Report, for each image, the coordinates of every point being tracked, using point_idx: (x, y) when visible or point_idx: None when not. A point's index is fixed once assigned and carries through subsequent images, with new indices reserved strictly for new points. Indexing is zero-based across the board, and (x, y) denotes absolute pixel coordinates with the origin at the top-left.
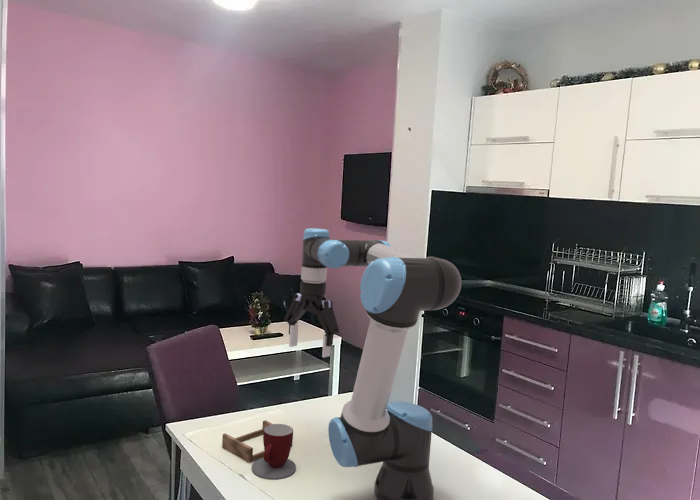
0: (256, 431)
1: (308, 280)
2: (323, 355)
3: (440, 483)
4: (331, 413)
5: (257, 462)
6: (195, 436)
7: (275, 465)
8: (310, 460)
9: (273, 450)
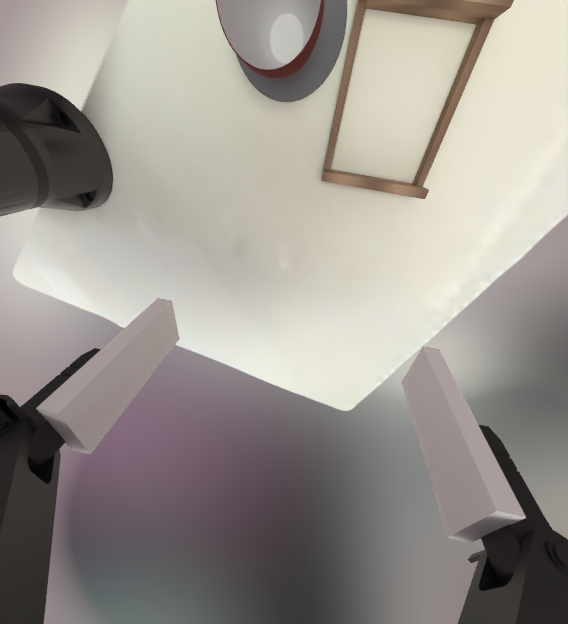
0: (430, 162)
1: None
2: (157, 305)
3: (72, 230)
4: (339, 339)
5: (336, 1)
6: None
7: (272, 6)
8: (252, 145)
9: None
